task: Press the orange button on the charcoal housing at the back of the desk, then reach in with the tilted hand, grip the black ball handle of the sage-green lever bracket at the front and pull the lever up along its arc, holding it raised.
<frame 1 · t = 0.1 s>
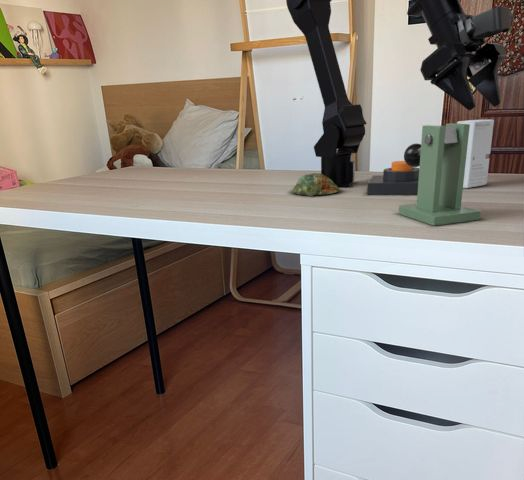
hand: (485, 107, 88), 15 cm above the table, tool tilted 30°, fingers open, 9 cm apart
green mottled dome: (314, 193, 108), on the table
lever: (428, 147, 82), point 10 cm above the table, hinge at -22.0°
cosmetic box: (468, 186, 106), on the table
button: (401, 166, 103), point 4 cm above the table, slide at 0.1 cm
button box: (400, 190, 105), on the table
bracket: (437, 216, 83), on the table
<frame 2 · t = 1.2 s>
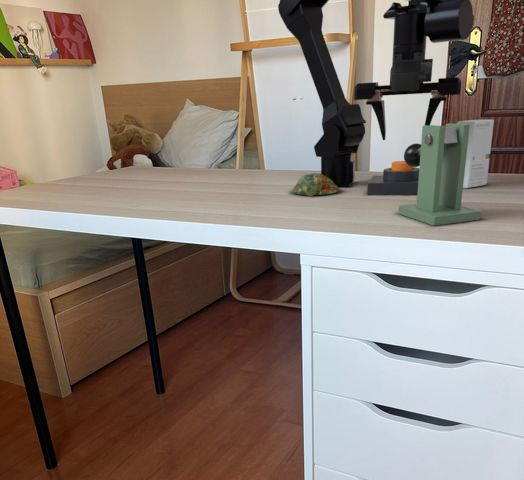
hand: (403, 139, 101), 9 cm above the table, tool pointing down, fingers open, 7 cm apart
nothing on the table moved.
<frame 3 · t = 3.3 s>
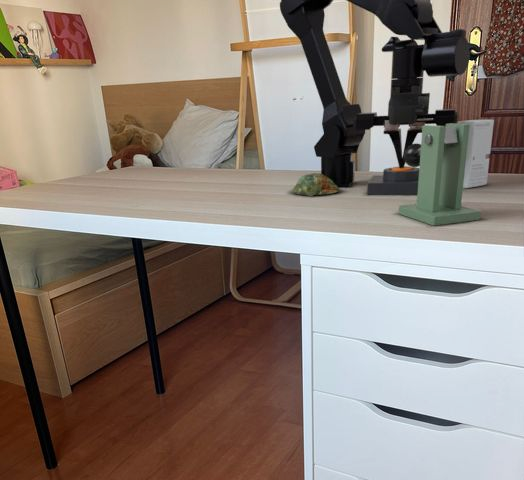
hand: (401, 167, 103), 4 cm above the table, tool pointing down, fingers closed, pressing on button
button: (401, 172, 104), point 3 cm above the table, slide at -1.0 cm, touching gripper
everything else where it was.
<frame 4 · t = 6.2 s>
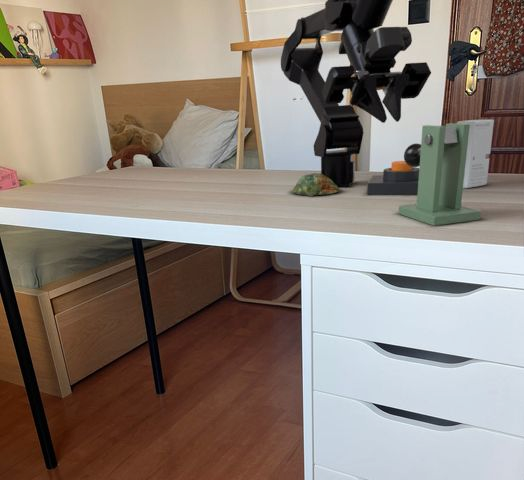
hand: (391, 120, 90), 14 cm above the table, tool tilted 45°, fingers closed
button: (401, 166, 103), point 4 cm above the table, slide at 0.1 cm
everything else where it was.
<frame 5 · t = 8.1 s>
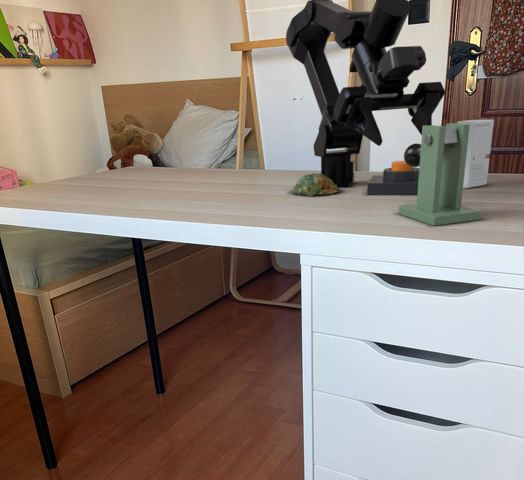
hand: (405, 141, 87), 10 cm above the table, tool tilted 45°, fingers open, 9 cm apart
nothing on the table moved.
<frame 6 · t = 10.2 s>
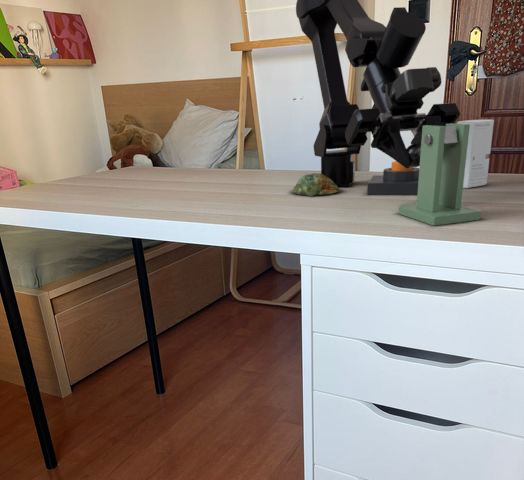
hand: (419, 165, 85), 7 cm above the table, tool tilted 45°, fingers closed on lever, 3 cm apart
lever: (428, 147, 82), point 10 cm above the table, hinge at -22.0°, touching gripper
everything else where it was.
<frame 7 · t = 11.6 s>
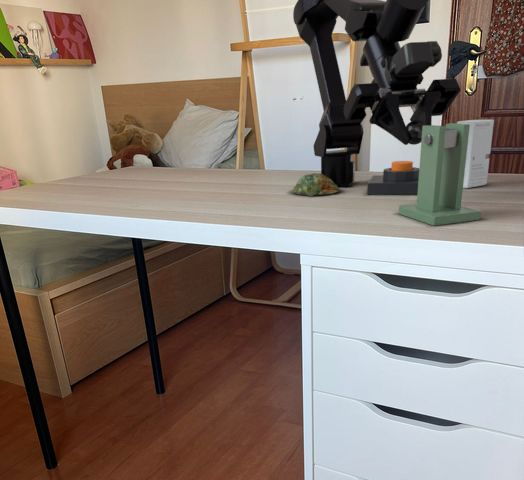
hand: (418, 142, 84), 11 cm above the table, tool tilted 45°, fingers closed on lever, 3 cm apart
lever: (428, 135, 81), point 12 cm above the table, hinge at 3.0°, touching gripper
everything else where it was.
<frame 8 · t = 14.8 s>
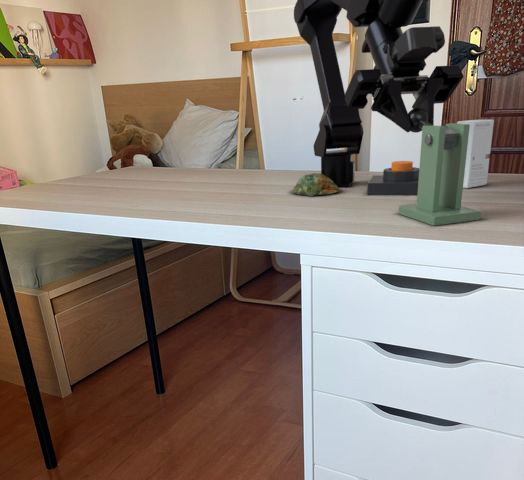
hand: (420, 129, 83), 12 cm above the table, tool tilted 45°, fingers closed on lever, 3 cm apart
lever: (429, 128, 81), point 13 cm above the table, hinge at 16.2°, touching gripper
everything else where it was.
at the end: button pushed in 1.2 cm at the most during the clip, back to where it started at the end; button slide at 0.1 cm; lever at +16° (first picture: -22°) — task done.
